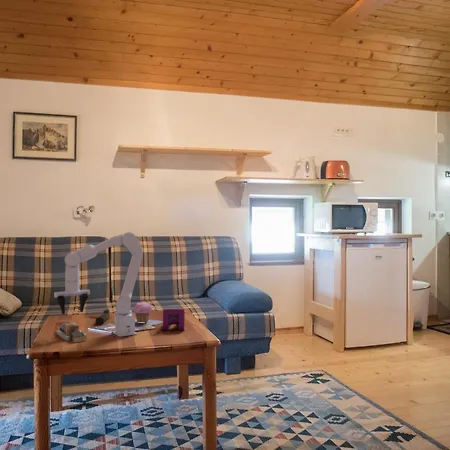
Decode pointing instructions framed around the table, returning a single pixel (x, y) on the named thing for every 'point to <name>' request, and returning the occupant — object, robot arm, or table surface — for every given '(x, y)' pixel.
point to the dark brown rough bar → (102, 317)
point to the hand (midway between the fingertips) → (72, 312)
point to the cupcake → (142, 311)
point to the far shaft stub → (61, 327)
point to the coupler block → (70, 328)
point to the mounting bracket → (173, 318)
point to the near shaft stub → (77, 336)
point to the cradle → (66, 335)
